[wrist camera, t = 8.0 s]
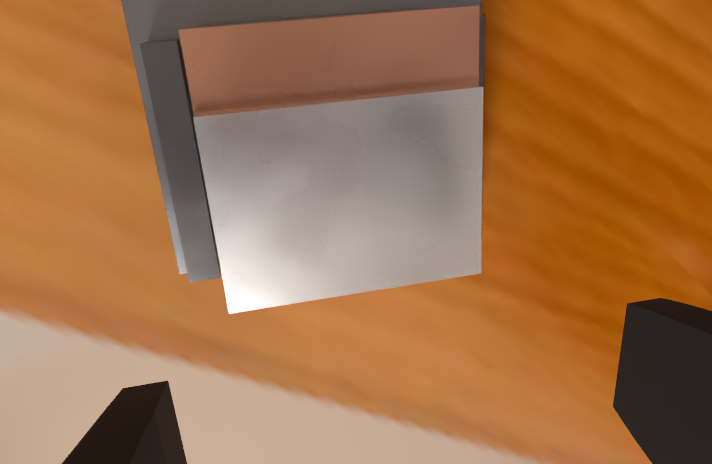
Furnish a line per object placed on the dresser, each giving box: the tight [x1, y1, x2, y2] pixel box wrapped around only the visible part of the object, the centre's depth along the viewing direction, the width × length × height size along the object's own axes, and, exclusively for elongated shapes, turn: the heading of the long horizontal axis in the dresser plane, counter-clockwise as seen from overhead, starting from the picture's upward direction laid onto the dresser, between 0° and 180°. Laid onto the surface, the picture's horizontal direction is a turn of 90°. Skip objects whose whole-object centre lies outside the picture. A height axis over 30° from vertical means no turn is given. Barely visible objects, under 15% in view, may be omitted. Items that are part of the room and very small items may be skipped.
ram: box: [179, 5, 483, 314], centre depth 13 cm, size 6×6×4 cm
